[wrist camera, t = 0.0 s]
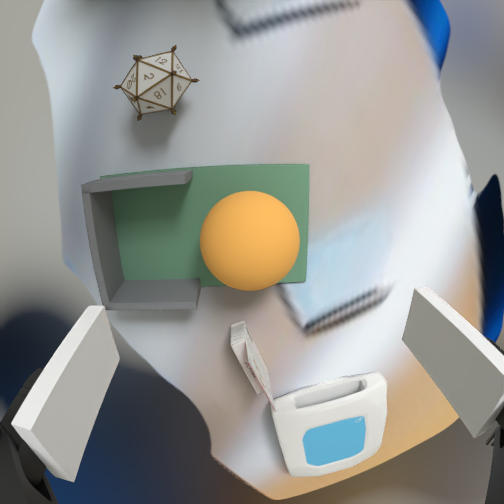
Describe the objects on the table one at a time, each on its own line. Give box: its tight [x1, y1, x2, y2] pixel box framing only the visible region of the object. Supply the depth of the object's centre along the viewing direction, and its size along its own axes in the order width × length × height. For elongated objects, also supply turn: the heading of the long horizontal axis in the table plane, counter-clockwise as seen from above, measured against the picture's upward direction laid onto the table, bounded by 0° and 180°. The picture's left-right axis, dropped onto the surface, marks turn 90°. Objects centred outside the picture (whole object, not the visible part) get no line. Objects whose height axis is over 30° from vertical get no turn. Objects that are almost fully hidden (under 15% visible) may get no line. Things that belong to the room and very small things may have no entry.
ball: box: [200, 191, 300, 291], centre depth 34 cm, size 11×11×11 cm
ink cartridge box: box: [231, 320, 276, 412], centre depth 41 cm, size 2×11×10 cm, turn 20°
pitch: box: [81, 164, 309, 310], centre depth 36 cm, size 16×27×7 cm, turn 91°
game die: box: [113, 45, 199, 121], centre depth 29 cm, size 9×8×10 cm
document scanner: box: [270, 371, 387, 477], centre depth 52 cm, size 21×28×6 cm
